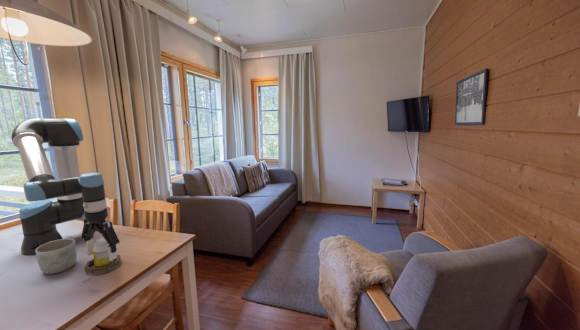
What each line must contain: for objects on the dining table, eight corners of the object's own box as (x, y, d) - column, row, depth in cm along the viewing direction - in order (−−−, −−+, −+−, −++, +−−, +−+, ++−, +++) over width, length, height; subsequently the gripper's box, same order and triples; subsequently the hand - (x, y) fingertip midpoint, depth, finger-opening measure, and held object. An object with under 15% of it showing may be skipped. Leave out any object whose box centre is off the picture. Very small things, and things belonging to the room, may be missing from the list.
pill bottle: (101, 260, 110) (99, 236, 108) (116, 260, 111) (114, 236, 109) (91, 269, 104) (88, 243, 102) (107, 269, 104) (104, 243, 102)
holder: (78, 271, 104) (77, 266, 103) (108, 257, 115) (107, 251, 115) (98, 277, 100) (97, 272, 99) (127, 261, 111) (126, 256, 111)
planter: (45, 280, 98) (40, 255, 96) (35, 271, 105) (31, 247, 103) (83, 265, 108) (79, 242, 107) (72, 257, 115) (69, 235, 113)
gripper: (66, 209, 104) (73, 255, 107) (107, 216, 96) (114, 266, 99) (85, 203, 111) (92, 247, 114) (125, 210, 103) (131, 256, 106)
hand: (102, 256), depth 107 cm, fingers open, 13 cm apart
